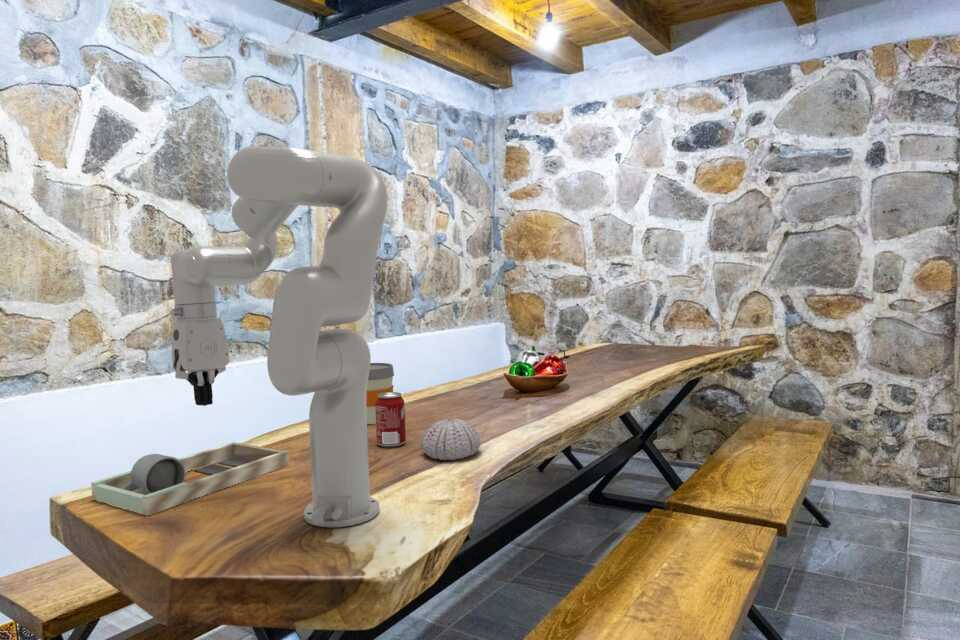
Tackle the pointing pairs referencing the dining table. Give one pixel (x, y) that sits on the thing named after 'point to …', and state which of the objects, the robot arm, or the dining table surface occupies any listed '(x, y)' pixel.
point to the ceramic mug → (155, 474)
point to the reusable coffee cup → (377, 386)
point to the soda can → (390, 419)
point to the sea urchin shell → (450, 440)
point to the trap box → (213, 473)
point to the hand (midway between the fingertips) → (204, 404)
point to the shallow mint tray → (126, 494)
